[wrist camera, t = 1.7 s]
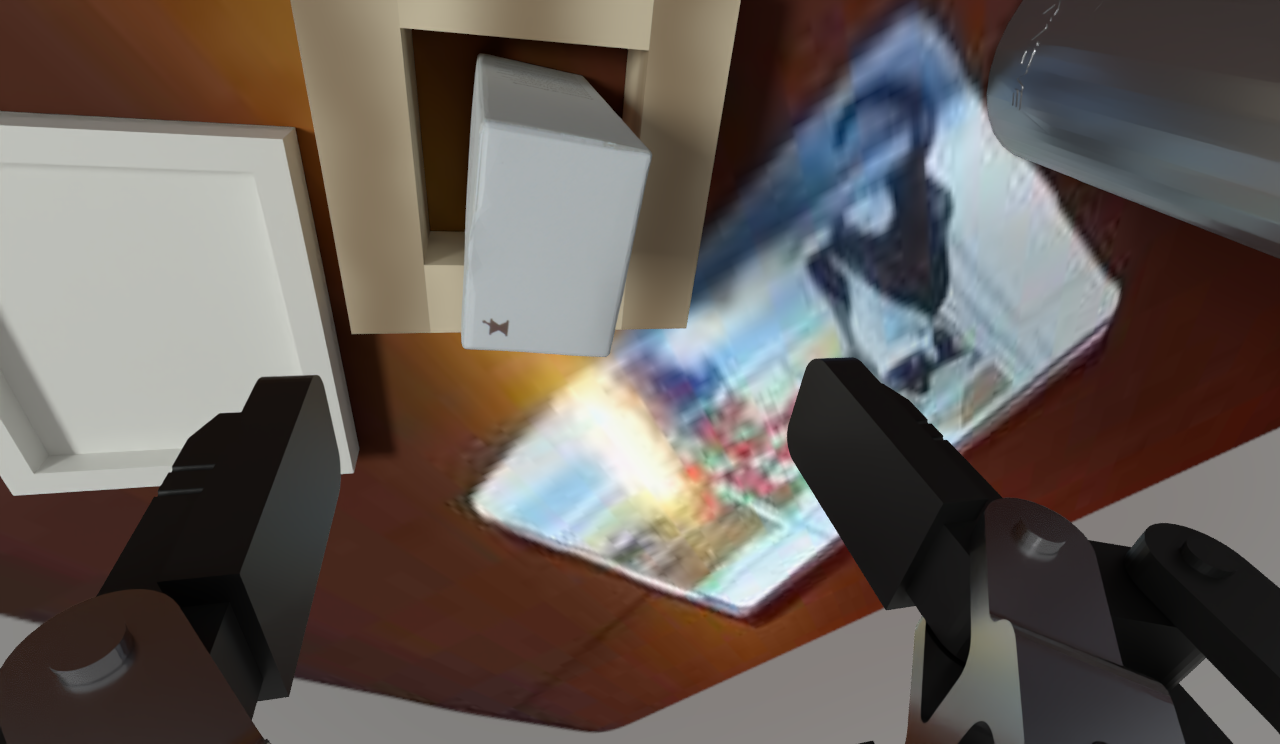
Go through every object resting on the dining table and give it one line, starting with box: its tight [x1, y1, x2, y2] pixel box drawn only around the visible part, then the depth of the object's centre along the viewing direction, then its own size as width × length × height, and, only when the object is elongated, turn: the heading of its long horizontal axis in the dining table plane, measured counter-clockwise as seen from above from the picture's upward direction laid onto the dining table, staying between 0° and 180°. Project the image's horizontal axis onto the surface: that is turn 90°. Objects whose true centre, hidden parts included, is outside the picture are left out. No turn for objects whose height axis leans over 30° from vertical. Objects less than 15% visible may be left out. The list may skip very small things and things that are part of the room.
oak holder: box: [291, 0, 741, 334], centre depth 23 cm, size 14×14×4 cm
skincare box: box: [461, 53, 652, 357], centre depth 20 cm, size 6×4×12 cm
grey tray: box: [0, 111, 359, 496], centre depth 25 cm, size 14×16×2 cm
